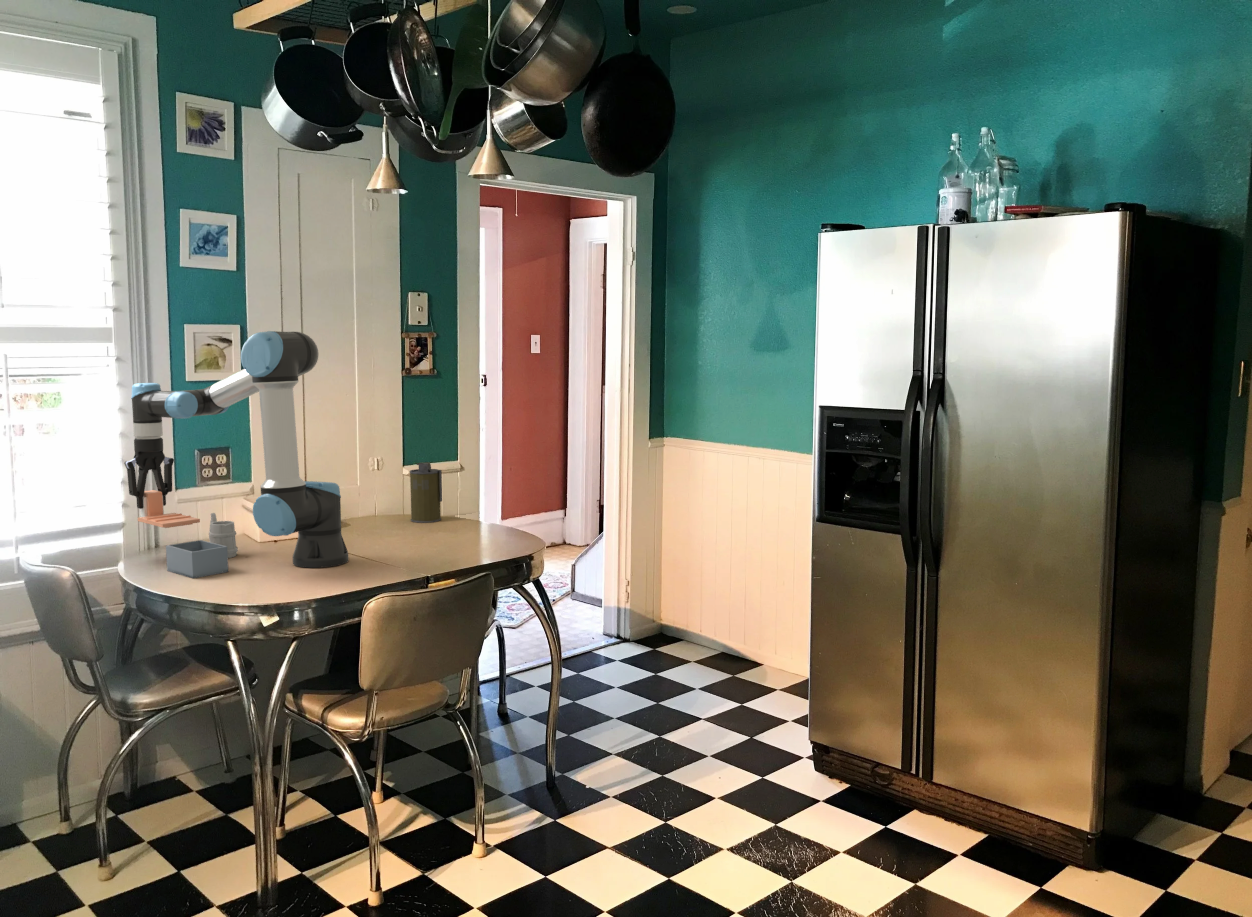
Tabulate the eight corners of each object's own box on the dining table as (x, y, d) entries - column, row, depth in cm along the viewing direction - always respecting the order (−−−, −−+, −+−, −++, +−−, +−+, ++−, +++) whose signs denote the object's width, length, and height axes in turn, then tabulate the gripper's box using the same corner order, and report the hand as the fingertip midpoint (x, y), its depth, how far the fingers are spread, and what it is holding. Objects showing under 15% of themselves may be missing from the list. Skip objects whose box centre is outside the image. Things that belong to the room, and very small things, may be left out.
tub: (228, 571, 282) (227, 546, 281) (193, 578, 274) (191, 552, 273) (202, 564, 291) (200, 539, 290) (167, 570, 283) (165, 545, 282)
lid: (200, 524, 292) (198, 495, 291) (163, 529, 284) (161, 500, 283) (166, 515, 304) (164, 488, 303) (129, 520, 296) (128, 492, 295)
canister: (406, 522, 357) (404, 464, 354) (417, 517, 367) (415, 460, 364) (436, 523, 355) (435, 465, 352) (446, 518, 365) (445, 461, 363)
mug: (217, 560, 297) (215, 518, 295) (198, 554, 305) (196, 513, 303) (242, 556, 302) (240, 515, 301) (224, 550, 310) (222, 510, 309)
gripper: (171, 434, 305) (174, 513, 308) (111, 438, 292) (116, 520, 295) (183, 436, 300) (187, 516, 303) (124, 440, 287) (128, 524, 290)
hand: (152, 518), depth 299 cm, fingers closed on lid, 4 cm apart
